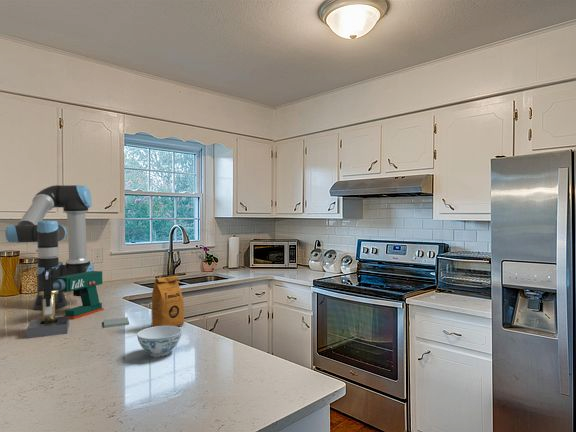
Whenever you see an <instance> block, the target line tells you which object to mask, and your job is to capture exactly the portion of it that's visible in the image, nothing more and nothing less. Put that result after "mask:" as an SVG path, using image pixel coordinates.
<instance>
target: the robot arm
mask: <svg viewBox="0 0 576 432" xmlns="http://www.w3.org/2000/svg"><path fill="white" fill-rule="evenodd" d="M92 201H93V200H92V194H91V191H90V189H89V188H88V187H87V185H79V184H77V185H75V184H74V185H72V184H71V185H59V184H54V185H50V186H48V187H46V188H43V189H41V190H40V191H38V192H37V193H36V194H35V195H34V197H33V198H32V201H31V202H32V204H30V206H29V208H27V210H26V211H25V213H24V214H23V215H22V217H21V218H20V220H19V221H18V223H17V224H11V225H8V226H7V227H6V229H5V231H4V232H5V239H6V241H7V242H8V243H17V244H18V243H37V249H36V251H35V253H37V257H38V259H37V269H36V271H37V272H36V281H37V284H36V285H37V294H36V296H35V299H34V303H33V309H34V310H35V311H36V310H37V311H43V299H44V314H45V315H46V314H52V296H51V291H53V290H54V289H53V282H54V281H55V280H56V277H62V276H67V275H72V274H78V273H83V272H89V271H95V266H94V263H91V260H90V259H89V257H88V254H87V253H88V251H87V228H86V227H87V226H86V225H87V224H86V213H88V211H89V208H91V207H92V203H93V202H92ZM54 208H63V212H64V213H65V214H66V217H67V218H66V220H67V223H66V224H67V228H66V227H65V226H64V225H62V224H59V223H58V221H57V220H44V219H45V216H46V215H47V214H48V212H49V211H51V210H53V209H54ZM66 236H67V245H68V246H67V247H68V259H67V260H66V261H65V264H63V262H62V261H60V259H59V257H58V256H59V254H60V252H59V249H60V247H59V242H60V241H62V240H64V239H65V238H66ZM43 288H44V289H43ZM41 291H44V298H43V295H40V296H39V292H41ZM67 305H68V302H67V298H66V296H65V292H58V294H55V310H56V309H60V308H64V307H66V306H67Z"/></svg>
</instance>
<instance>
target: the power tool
mask: <svg viewBox="0 0 576 432" xmlns="http://www.w3.org/2000/svg"><path fill="white" fill-rule="evenodd" d="M100 285H103V271H102V270H101V271H100V270H94V271H89V272H83V273H78V274H72V275H67V276H62V277H56V280H55V281H54V282H53V289H54V290H58V292H63V293H69V292H73V293H72V295H73V297H80V301H81V304H82V305H80V306H79V305H78V306H76V307H71V308H69V309H65V310H64V314H65V315H63V316H62V317H64V316H69V320H76V319H80V318H82V317H85V316H89V315H92V314H95V313H99V312H102V311H104V307H103V303H102V302H100V299H99V293H98V289H97V286H100ZM43 289H44V288H43Z"/></svg>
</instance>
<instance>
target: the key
mask: <svg viewBox="0 0 576 432" xmlns="http://www.w3.org/2000/svg"><path fill="white" fill-rule="evenodd" d="M55 294H58V290H53V291H51V296H52V314H46V315H45V314H44V299H43V310H42V319H43V324H50V323H55V317H56V309H55ZM40 295H43V298H44V291H41V292H39V296H40Z"/></svg>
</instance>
